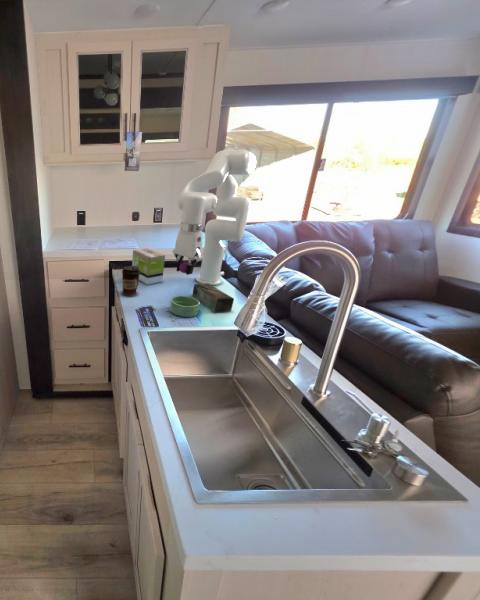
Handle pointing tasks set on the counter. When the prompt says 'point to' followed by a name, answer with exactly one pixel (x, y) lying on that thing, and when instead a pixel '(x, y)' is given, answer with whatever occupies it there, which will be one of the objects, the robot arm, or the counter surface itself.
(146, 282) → the tea box
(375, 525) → the counter surface
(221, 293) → the brown wooden block
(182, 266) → the ball
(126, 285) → the coffee cup
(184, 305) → the bowl
